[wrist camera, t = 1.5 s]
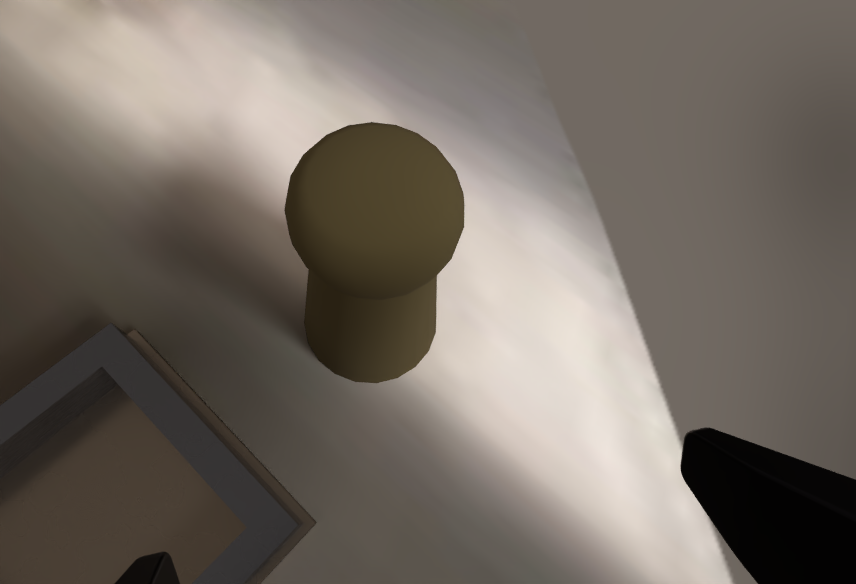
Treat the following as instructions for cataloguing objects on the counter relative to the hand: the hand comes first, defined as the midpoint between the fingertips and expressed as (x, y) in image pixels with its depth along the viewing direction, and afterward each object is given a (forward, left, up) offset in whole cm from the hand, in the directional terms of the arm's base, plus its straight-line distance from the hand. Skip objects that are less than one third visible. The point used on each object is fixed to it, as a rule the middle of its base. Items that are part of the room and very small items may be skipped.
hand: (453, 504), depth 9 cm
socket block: (+7, +8, -13) cm, 17 cm away
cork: (+7, -5, -13) cm, 15 cm away
